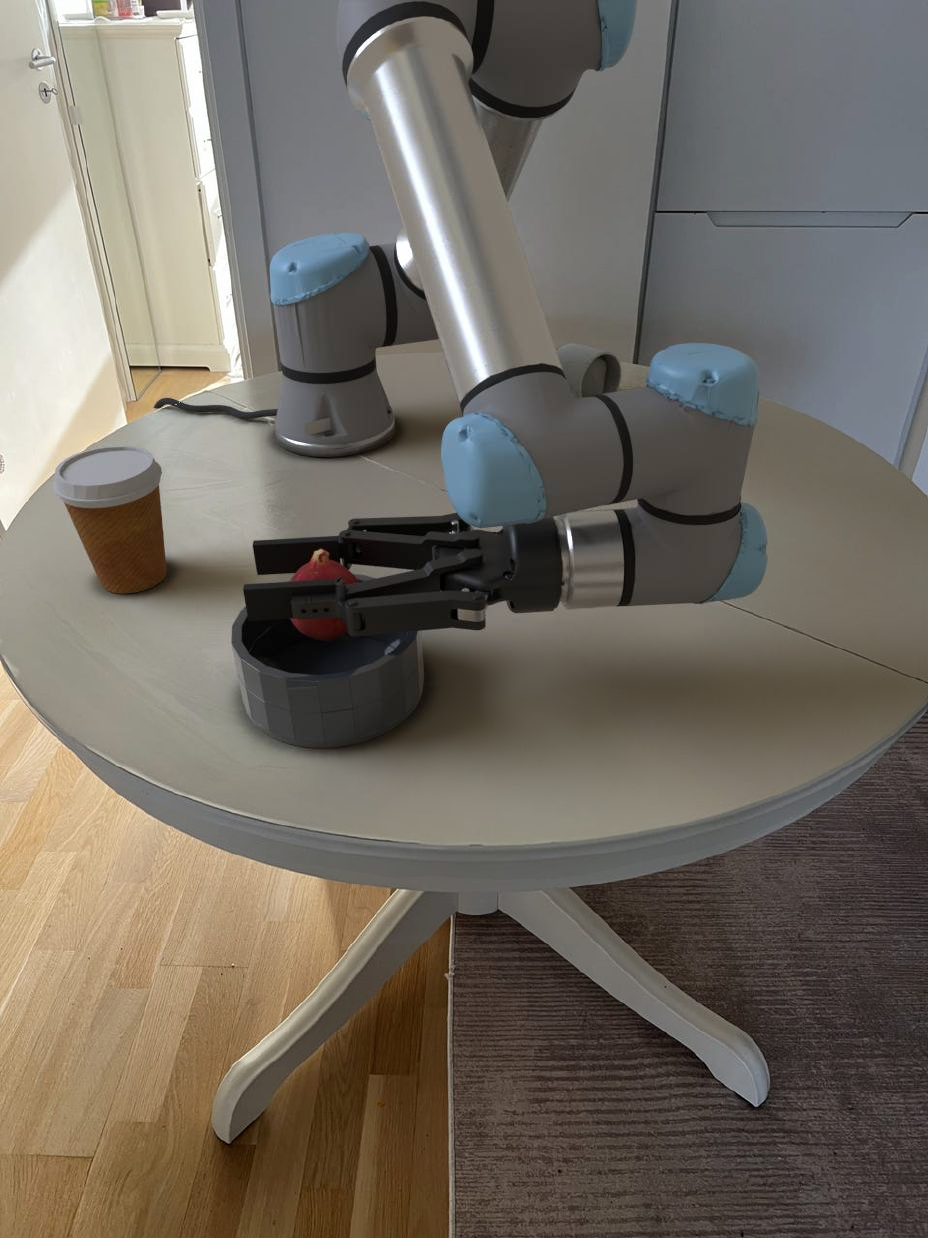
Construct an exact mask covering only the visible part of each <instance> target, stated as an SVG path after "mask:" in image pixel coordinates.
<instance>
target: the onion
mask: <svg viewBox="0 0 928 1238" xmlns="http://www.w3.org/2000/svg"><path fill="white" fill-rule="evenodd" d="M328 557H329V553H328V552H327V551H325V550H323V549H320V550H318V551H315V552H314V554H313V556H312V558H311V560H310V562H309V563H307V564H305V565H304V566H302V567H301V568H300V569H299V570H298V571H297V572H296V573H294V574H293V576H292V577H291V579H290V582H292V581H309V580H326V579H335V580H336V579H337V578H339V577H342V579H343V581H344V583H345V585H348V584H353V583H357V582H358V580H357V579H356V577H355V576H354V575H353V574H354V573H353V572H352V571H350V569H349V570H348V569H347V568H345V567H344V566H343V565H342V563H341V564H340V563H338V562H335V561H332V560H329V558H328ZM291 621H292V622H293V624H294V625H295V626H296V628H297V629H298V630H299V631H300V632H301V633H303V634H305V635H307V636H309V637H311V638H313V639H316V640H323V641H332V640H334V639H336V638H338V637H340V636H341V635H343V634H344V633H345V632H346V631H347V627H346V625H345V623H344V622H342V621H340V620H339V618H321V619H315V618H314V619H304V620H299V619H291Z"/></svg>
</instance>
